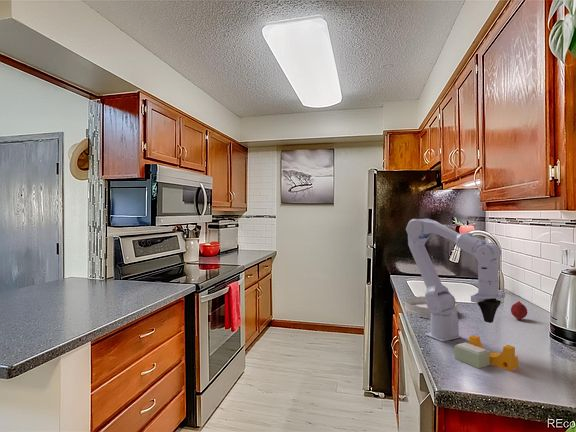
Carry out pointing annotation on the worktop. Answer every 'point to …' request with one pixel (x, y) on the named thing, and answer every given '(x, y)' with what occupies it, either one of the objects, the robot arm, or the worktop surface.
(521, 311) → the onion
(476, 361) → the pale green block
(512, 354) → the pipe clamp
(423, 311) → the dish
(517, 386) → the worktop surface
